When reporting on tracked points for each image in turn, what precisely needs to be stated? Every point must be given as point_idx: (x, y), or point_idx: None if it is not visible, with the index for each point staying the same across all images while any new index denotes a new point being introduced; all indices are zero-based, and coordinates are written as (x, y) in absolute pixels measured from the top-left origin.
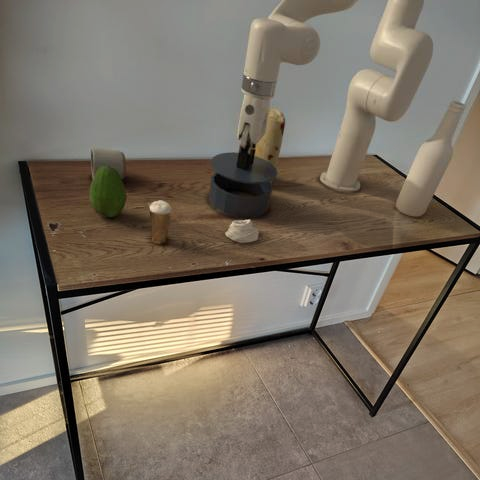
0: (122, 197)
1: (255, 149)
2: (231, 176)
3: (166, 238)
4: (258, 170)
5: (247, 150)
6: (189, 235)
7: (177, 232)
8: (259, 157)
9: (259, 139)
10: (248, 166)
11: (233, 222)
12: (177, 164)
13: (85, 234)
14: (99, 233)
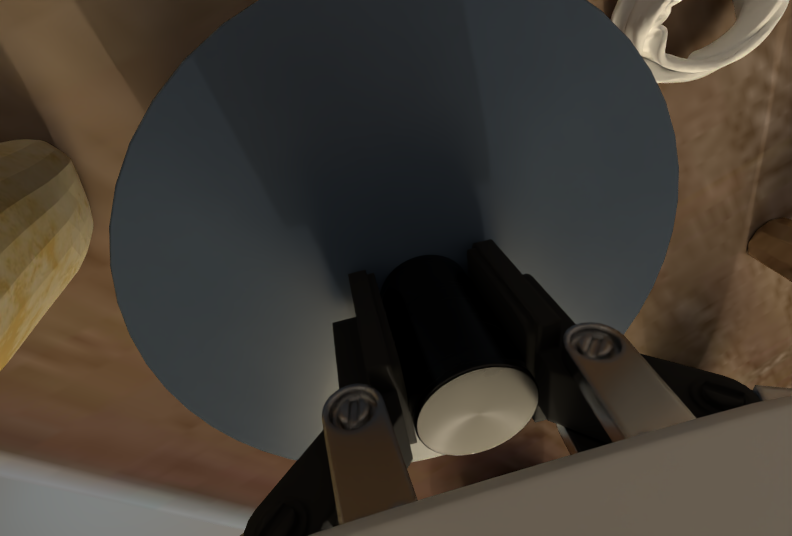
0: None
1: (372, 369)
2: (645, 263)
3: (785, 224)
4: (408, 180)
5: (668, 372)
6: (716, 188)
7: (708, 227)
8: (4, 337)
9: (730, 455)
10: (501, 257)
11: (735, 58)
12: (269, 488)
13: (772, 360)
14: (762, 347)
